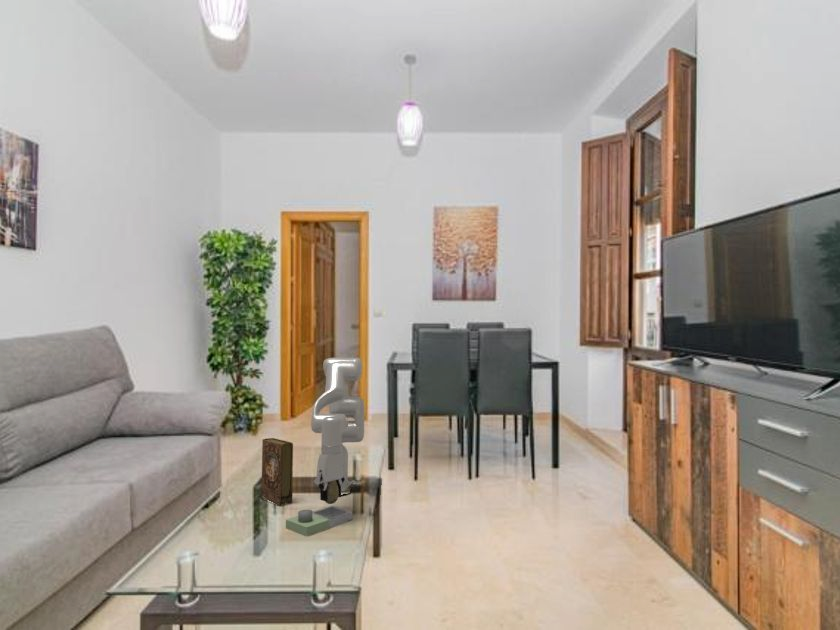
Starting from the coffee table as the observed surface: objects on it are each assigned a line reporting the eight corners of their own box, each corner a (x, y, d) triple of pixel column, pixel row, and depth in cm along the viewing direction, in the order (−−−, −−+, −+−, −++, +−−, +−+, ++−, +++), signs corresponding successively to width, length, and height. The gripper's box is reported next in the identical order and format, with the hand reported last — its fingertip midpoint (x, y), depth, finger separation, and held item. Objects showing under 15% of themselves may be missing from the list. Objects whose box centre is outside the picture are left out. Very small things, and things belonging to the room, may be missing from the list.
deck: (308, 520, 192) (308, 504, 192) (329, 528, 184) (329, 511, 185) (285, 528, 184) (285, 511, 185) (306, 536, 177) (306, 518, 177)
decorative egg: (325, 507, 189) (325, 479, 189) (320, 502, 194) (321, 475, 195) (340, 504, 191) (341, 477, 192) (336, 500, 197) (336, 474, 197)
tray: (332, 513, 201) (332, 505, 201) (352, 520, 193) (352, 511, 193) (308, 521, 192) (308, 512, 192) (328, 528, 185) (328, 519, 185)
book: (259, 498, 220) (260, 439, 221) (271, 495, 224) (272, 437, 225) (280, 506, 208) (281, 444, 210) (292, 503, 212) (293, 442, 214)
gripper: (342, 445, 203) (341, 491, 202) (306, 452, 190) (305, 501, 189) (355, 447, 198) (354, 495, 197) (319, 454, 185) (318, 505, 184)
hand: (330, 498), depth 193 cm, fingers closed on decorative egg, 6 cm apart
